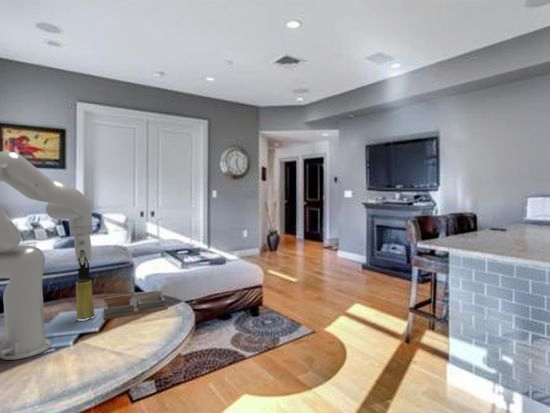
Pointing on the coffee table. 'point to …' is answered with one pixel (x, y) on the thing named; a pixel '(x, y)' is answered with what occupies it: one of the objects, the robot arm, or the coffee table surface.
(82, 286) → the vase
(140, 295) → the socket board
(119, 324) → the coffee table surface
